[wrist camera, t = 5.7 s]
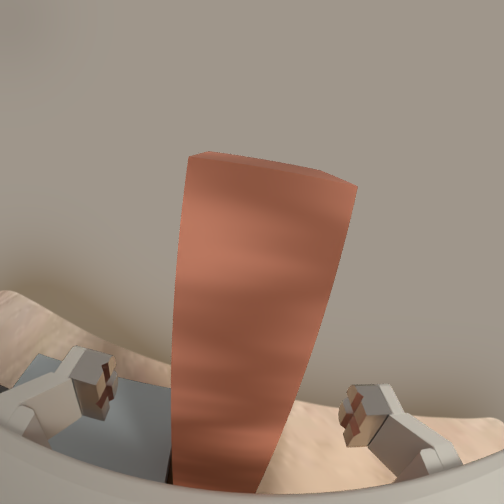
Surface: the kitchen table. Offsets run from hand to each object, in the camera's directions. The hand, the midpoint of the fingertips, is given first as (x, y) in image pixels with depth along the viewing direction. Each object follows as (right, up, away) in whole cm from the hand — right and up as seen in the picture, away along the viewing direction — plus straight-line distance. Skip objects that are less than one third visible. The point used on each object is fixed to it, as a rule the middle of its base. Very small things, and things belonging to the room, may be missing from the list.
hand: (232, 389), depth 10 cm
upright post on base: (-5, -10, +3) cm, 11 cm away
